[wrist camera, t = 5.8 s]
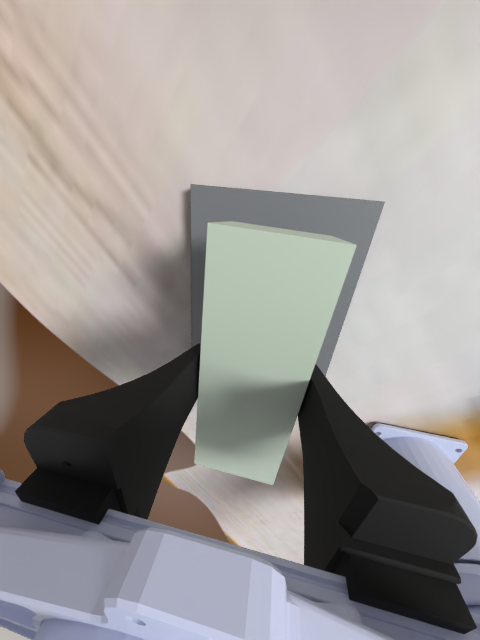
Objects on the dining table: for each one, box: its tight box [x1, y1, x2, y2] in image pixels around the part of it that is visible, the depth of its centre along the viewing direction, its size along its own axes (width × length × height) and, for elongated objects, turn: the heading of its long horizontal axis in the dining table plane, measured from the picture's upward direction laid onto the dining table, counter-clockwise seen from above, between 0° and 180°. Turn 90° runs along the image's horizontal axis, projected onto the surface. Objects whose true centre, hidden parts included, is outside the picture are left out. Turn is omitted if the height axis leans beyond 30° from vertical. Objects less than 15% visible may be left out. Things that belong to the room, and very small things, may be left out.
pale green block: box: [194, 221, 357, 485], centre depth 12 cm, size 14×5×4 cm, turn 173°
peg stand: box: [191, 184, 385, 376], centre depth 16 cm, size 18×12×4 cm, turn 175°
